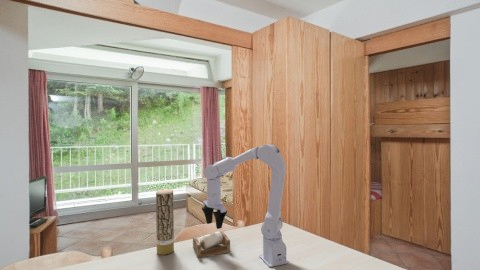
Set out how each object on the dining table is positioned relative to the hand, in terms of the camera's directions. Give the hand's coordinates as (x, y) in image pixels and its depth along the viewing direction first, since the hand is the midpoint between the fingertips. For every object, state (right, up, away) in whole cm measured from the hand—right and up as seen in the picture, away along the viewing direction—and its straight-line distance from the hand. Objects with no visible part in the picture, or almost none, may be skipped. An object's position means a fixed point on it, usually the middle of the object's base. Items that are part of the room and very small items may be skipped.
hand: (214, 225), depth 109 cm
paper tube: (-20, -10, -2) cm, 23 cm away
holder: (-1, -10, -1) cm, 10 cm away
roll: (-1, -8, 0) cm, 8 cm away
